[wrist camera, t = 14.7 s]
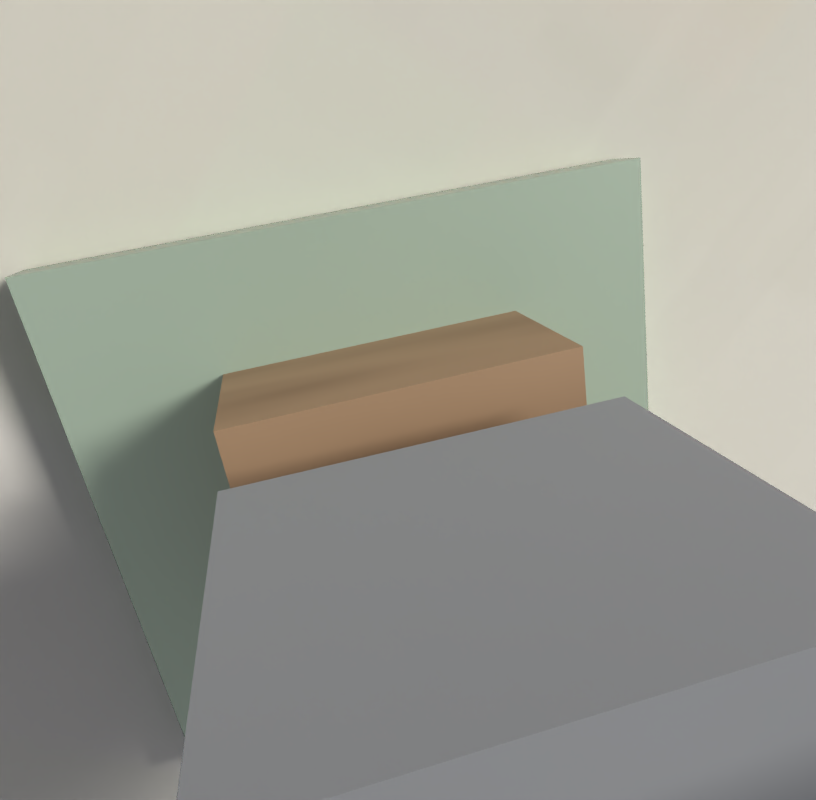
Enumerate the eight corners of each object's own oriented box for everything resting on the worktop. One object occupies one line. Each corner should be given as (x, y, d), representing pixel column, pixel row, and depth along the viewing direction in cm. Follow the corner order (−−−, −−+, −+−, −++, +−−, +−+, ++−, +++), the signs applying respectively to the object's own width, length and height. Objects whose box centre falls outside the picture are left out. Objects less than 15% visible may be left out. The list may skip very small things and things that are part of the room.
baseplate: (635, 609, 18) (655, 633, 17) (202, 739, 16) (199, 773, 15) (614, 159, 14) (640, 157, 13) (24, 270, 12) (4, 277, 11)
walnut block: (544, 587, 16) (604, 674, 13) (302, 656, 15) (313, 765, 12) (515, 310, 13) (582, 346, 11) (223, 374, 12) (213, 431, 10)
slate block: (634, 700, 12) (878, 1041, 7) (309, 802, 11) (346, 1265, 6) (624, 396, 10) (962, 600, 5) (217, 491, 9) (170, 848, 4)
